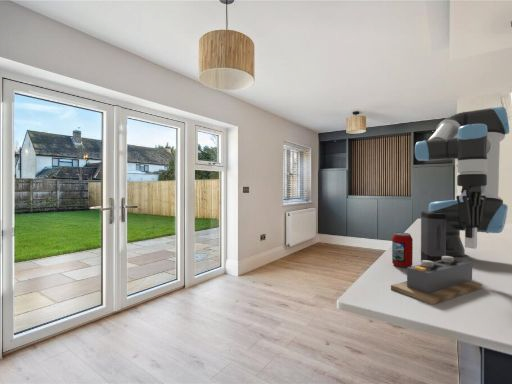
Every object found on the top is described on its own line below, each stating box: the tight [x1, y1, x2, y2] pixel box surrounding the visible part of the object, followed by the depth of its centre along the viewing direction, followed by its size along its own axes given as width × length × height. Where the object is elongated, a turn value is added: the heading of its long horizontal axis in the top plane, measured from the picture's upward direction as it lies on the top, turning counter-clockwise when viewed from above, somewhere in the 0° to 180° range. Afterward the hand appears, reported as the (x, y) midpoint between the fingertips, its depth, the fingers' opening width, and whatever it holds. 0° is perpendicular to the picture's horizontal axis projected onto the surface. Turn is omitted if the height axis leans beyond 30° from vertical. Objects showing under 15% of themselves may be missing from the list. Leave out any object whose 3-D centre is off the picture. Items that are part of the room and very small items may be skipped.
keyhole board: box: [390, 256, 483, 305], centre depth 82 cm, size 24×12×8 cm, turn 118°
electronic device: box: [420, 210, 446, 262], centre depth 104 cm, size 9×6×20 cm, turn 168°
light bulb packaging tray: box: [406, 258, 473, 294], centre depth 83 cm, size 22×6×6 cm, turn 118°
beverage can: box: [391, 232, 414, 268], centre depth 106 cm, size 7×7×12 cm
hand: (470, 247), depth 90 cm, fingers closed
